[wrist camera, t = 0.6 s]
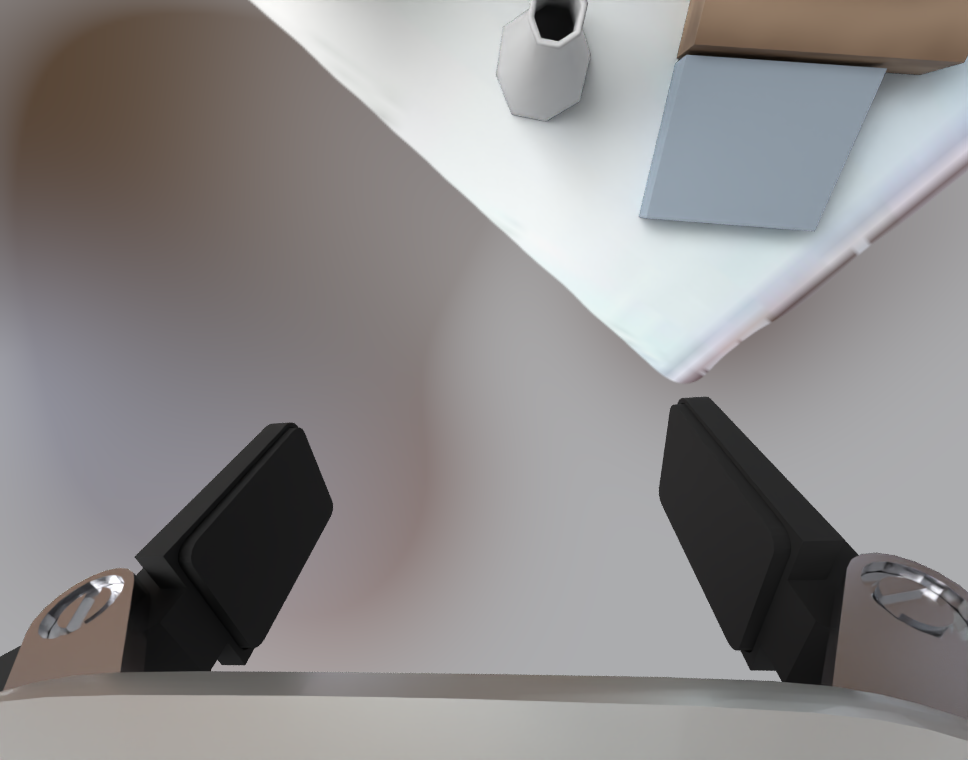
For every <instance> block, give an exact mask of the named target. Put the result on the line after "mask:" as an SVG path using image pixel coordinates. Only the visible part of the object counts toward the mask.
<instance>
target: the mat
mask: <svg viewBox="0 0 968 760" xmlns="http://www.w3.org/2000/svg"><path fill="white" fill-rule="evenodd" d="M886 70H887V68H874V67H859V66H844V65H830V64H815V63H800V62H786V61H771V60H756V59H742V58H727V57H712V56H698V55H686V56H684V57H683V58H682V59H680V60H679V61H678V62H676V63H675V67H674V71H673V75H672V80H671V84H670V88H669V92H668V96H667V101H666V105H665V109H664V113H663V117H662V122H661V126H660V130H659V134H658V138H657V143H656V147H655V151H654V155H653V159H652V164H651V168H650V172H649V176H648V180H647V184H646V189H645V193H644V197H643V201H642V205H641V210H640V214H639V217H643V218H650V219H663V220H676V221H689V222H701V223H714V224H727V225H740V226H753V227H766V228H778V229H791V230H804V231H815V230H816V227H817V225H818V223H819V221H820V218H821V216H822V214H823V212H824V209H825V207H826V205H827V203H828V200H829V198H830V196H831V194H832V192H833V189H834V187H835V185H836V183H837V180H838V178H839V176H840V174H841V171H842V169H843V167H844V165H845V162H846V160H847V158H848V156H849V153H850V151H851V149H852V147H853V144H854V142H855V140H856V138H857V135H858V133H859V131H860V129H861V126H862V124H863V122H864V120H865V117H866V115H867V113H868V111H869V109H870V106H871V104H872V102H873V100H874V97H875V95H876V93H877V91H878V88H879V86H880V84H881V82H882V79H883V77H884V75H885V73H886Z"/></svg>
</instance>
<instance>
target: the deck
mask: <svg viewBox="0 0 968 760" xmlns="http://www.w3.org/2000/svg"><path fill="white" fill-rule="evenodd" d="M686 55H698V56H712V57H727V58H742V59H756V60H771V61H786V62H800V63H815V64H830V65H844V66H859V67H874V68H887V70H886V73H899V74H914V75H922V74H925V73H929V72H932V71H936V70H939V69H943V68H946V67H950V66H953V65H957V64H961V63H964V62H965V60H966V58H967V56H968V0H690V4H689V8H688V13H687V17H686V21H685V25H684V29H683V34H682V38H681V42H680V46H679V50H678V55H677V58H680V59H682V58H683V57H684V56H686Z"/></svg>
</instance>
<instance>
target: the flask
mask: <svg viewBox="0 0 968 760" xmlns="http://www.w3.org/2000/svg"><path fill="white" fill-rule="evenodd" d="M587 5H588V3H587V0H530V6H529V9H528V10H527V11H525V12H524V13H523V14H521V15H520V16H518V17H517V18H515V19H514V20H512V21H511V22H509V23H508V24H507V25H505V26H504V27H503V31H502V38H501V45H500V52H499V58H498V65H497V72H496V76H497V78H498V81H499V84H500V86H501V89H502V91H503V94H504V96H505V99H506V101H507V104H508V106H509V109H510V112H511V114H512V115H517V116H522V117H527V118H532V119H537V120H542V121H548V120H549V119H551V118H553V117H554V116H556V115H558V114H559V113H561V112H563V111H564V110H566V109H568V108H569V107H571V106H573V105H574V104H576V103H578V102H579V101H580V98H581V94H582V90H583V86H584V82H585V77H586V73H587V69H588V65H589V61H590V56H591V54H590V51H589V48H588V44H587V41H586V38H585V34H584V31H583V23H584V19H585V14H586V10H587Z"/></svg>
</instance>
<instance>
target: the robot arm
mask: <svg viewBox="0 0 968 760" xmlns="http://www.w3.org/2000/svg"><path fill="white" fill-rule="evenodd" d="M659 496H660V501H661V504H662V506H663V508H664V510H665V512H666V514H667V516H668V519H669V521H670V523H671V525H672V527H673V529H674V531H675V533H676V535H677V537H678V539H679V542H680V544H681V545H682V548H683V550H684V552H685V554H686V556H687V558H688V560H689V562H690V564H691V566H692V568H693V571H694V573H695V575H696V577H697V579H698V581H699V583H700V585H701V587H702V589H703V591H704V593H705V596H706V598H707V600H708V602H709V604H710V606H711V608H712V610H713V612H714V614H715V616H716V618H717V621H718V623H719V625H720V627H721V629H722V631H723V633H724V635H725V637H726V639H727V641H728V643H729V645H730V646H731V647H732V648H733V649H734V650H741V652H742V654H743V656H744V658H745V660H746V662H747V664H748V666H749V668H750V670H766V671H768V670H770V671H773V670H774V671H776V672H777V673H778V675H779V677H780V679H781V681H782V682H776V681H755V680H728V679H700V678H699V679H698V678H672V677H630V676H572V675H571V676H569V675H516V674H514V675H512V674H442V673H441V674H440V673H439V674H438V673H359V672H221V671H220V672H217V671H214V672H213V671H211V669H212V667H213V666H214V664H215V662H216V661H217V660H218V661H219V662H220V663H221V665H246V663H247V661H248V659H249V657H250V656H251V654H252V652H253V650H254V648H256V647H258V646H259V645H260V644H261V643H262V642H263V640H264V639H265V637H266V635H267V633H268V632H269V629H270V628H271V626H272V624H273V622H274V620H275V619H276V617H277V615H278V613H279V611H280V609H281V607H282V606H283V604H284V602H285V600H286V598H287V596H288V595H289V593H290V591H291V589H292V587H293V585H294V583H295V582H296V580H297V578H298V576H299V574H300V572H301V570H302V568H303V567H304V565H305V563H306V561H307V559H308V558H309V556H310V554H311V552H312V550H313V548H314V546H315V545H316V542H317V541H318V539H319V537H320V535H321V533H322V532H323V530H324V528H325V526H326V524H327V522H328V521H329V518H330V517H331V514H332V511H333V503H332V500H331V497H330V495H329V492H328V490H327V487H326V485H325V482H324V480H323V478H322V475H321V473H320V470H319V467H318V465H317V462H316V460H315V457H314V455H313V452H312V450H311V448H310V445H309V443H308V440H307V438H306V435H305V433H304V431H303V429H301V428H298V426H297V425H296V424H295V423H277V424H270V425H268V426H266V427H265V428H264V429H263V430H262V432H261V433H259V434H258V435H257V436H256V437H255V438H254V439H253V440H252V441H251V442H250V443H249V444H248V445H247V446H246V447H245V448H244V449H243V450H242V451H241V452H240V453H239V454H238V455H237V456H236V457H235V458H234V459H233V460H232V461H231V462H230V463H229V464H228V465H227V466H226V467H225V468H224V469H223V470H222V471H221V472H220V473H219V474H218V475H217V476H216V477H215V478H214V479H213V480H212V481H211V482H210V483H209V484H208V485H207V486H206V487H205V488H204V489H203V490H202V491H201V492H200V493H199V494H198V495H197V496H196V497H195V498H194V499H193V500H192V501H191V502H190V503H188V505H187V506H185V507H184V509H182V510H181V511H180V512H179V513H178V515H176V516H175V517H174V518H173V520H171V521H170V522H169V524H167V525H166V526H165V527H164V528H163V529H162V530H161V531H160V532H159V533H158V534H157V535H156V536H155V537H154V538H153V539H152V540H151V541H150V542H149V543H148V544H147V545H146V546H145V547H144V548H143V549H142V550H141V551H140V552H139V553H138V554H137V555H136V556H135V558H136V559H137V561H138V562H139V563H140V564H141V566H142V567H143V569H142V570H141V571H140V572H139V573H138V574H137V575H135V574H134V573H133V572H132V571H130V570H129V569H127V568H115V569H110V570H106V571H103V572H100V573H98V574H95V575H93V576H91V577H89V578H87V579H85V580H83V581H81V582H79V583H77V584H76V585H74V586H72V587H71V588H70V589H68V590H67V591H65V592H64V593H62V594H61V595H59V596H58V597H57V598H56V599H55V600H54V601H52V602H51V603H50V604H49V605H48V606H46V607H45V608H44V609H43V610H42V611H41V613H40V614H39V615H38V616H37V617H36V618H35V619H34V621H33V622H32V624H31V625H30V627H29V629H28V630H27V632H26V634H25V637H24V639H23V642H22V645H21V646H19V647H17V648H16V649H14V650H12V651H10V652H8V653H6V654H4V655H2V656H1V657H0V760H968V592H967V591H966V590H965V589H963V588H962V587H961V586H960V585H958V584H957V583H955V582H953V581H952V580H950V579H948V578H946V577H945V576H944V575H942V574H940V573H939V572H937V571H934V570H932V569H930V568H928V567H926V566H924V565H921V564H919V563H917V562H915V561H911V560H908V559H905V558H902V557H898V556H895V555H889V554H882V553H868V554H860V555H858V554H857V553H856V552H855V551H854V550H853V549H852V548H851V546H850V545H849V544H848V543H847V542H846V541H845V540H844V539H843V538H842V537H841V535H840V534H839V533H838V532H837V531H836V530H835V529H834V528H833V527H832V526H831V525H830V524H829V523H828V522H827V521H826V520H825V519H824V518H823V517H822V515H821V514H820V513H819V512H818V511H817V510H816V509H815V508H814V507H813V506H812V505H811V504H810V503H809V502H808V501H807V500H806V499H805V498H804V497H803V495H802V494H801V493H800V492H799V491H798V490H797V489H796V488H795V487H794V486H793V485H792V484H791V483H790V482H789V481H788V480H787V479H786V478H785V476H783V474H782V473H781V472H780V471H779V470H778V469H777V468H776V467H775V466H774V465H773V464H772V463H771V462H770V461H769V460H768V459H767V458H766V457H765V456H764V455H763V453H762V452H761V451H759V449H758V448H757V447H756V446H755V445H754V444H753V443H752V442H751V441H750V440H749V439H748V438H747V437H746V436H745V434H744V433H743V432H742V431H741V430H740V429H739V428H738V427H737V426H736V425H735V424H734V423H733V422H732V421H731V420H730V419H729V418H728V417H727V415H726V414H725V413H724V412H723V411H722V410H721V409H720V408H719V407H718V406H717V405H716V404H715V403H714V402H713V401H712V400H711V399H710V398H709V397H693V398H681V399H680V400H679V402H678V404H677V405H672V406H671V408H670V414H669V421H668V428H667V435H666V443H665V449H664V457H663V464H662V471H661V478H660V486H659Z"/></svg>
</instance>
